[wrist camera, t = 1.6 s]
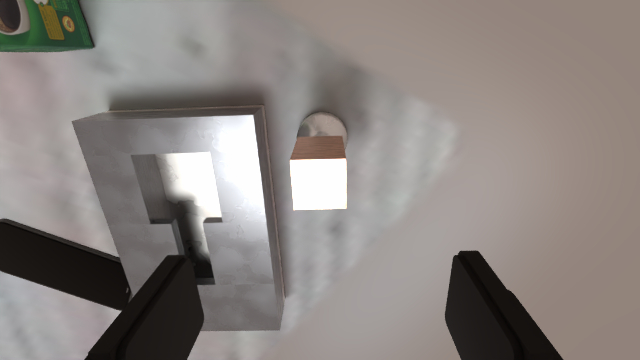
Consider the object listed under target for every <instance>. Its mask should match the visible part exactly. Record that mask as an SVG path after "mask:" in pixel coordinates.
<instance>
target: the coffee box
mask: <svg viewBox="0 0 640 360" xmlns="http://www.w3.org/2000/svg"><path fill="white" fill-rule="evenodd" d="M92 48H93V45H92V42H91V40H90V36H89V33H88V29H87V25H86V22H85V20H84V18H83V16H82V12H81V10H80V7H79V4H78V0H0V52H62V51H75V50H87V49H92Z"/></svg>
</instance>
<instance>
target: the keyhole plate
mask: <svg viewBox="0 0 640 360" xmlns="http://www.w3.org/2000/svg"><path fill="white" fill-rule="evenodd" d="M72 124H73V127H74V130H75V133H76V135H77V138H78V141H79V144H80V147H81V150H82V152H83V155H84V158H85V161H86V164H87V167H88V169H89V172H90V175H91V178H92V181H93V184H94V186H95V189H96V192H97V195H98V198H99V201H100V203H101V206H102V209H103V212H104V215H105V218H106V220H107V223H108V226H109V229H110V232H111V235H112V237H113V240H114V243H115V246H116V249H117V252H118V254H119V257H120V260H121V263H122V266H123V268H124V271H125V274H126V277H127V280H128V283H129V285H130V288H131V291H132V294H133V297H134V295H135V294H136V293H137V292H138V290H139V289H140V288H141V287H142V286H143V284H144V283H145V282H146V281H147V279H148V278H149V277H150V276H151V274H152V273H153V272H154V271H155V269H156V268H157V267H158V266H159V264H160V263H161V262H162V261H163V260H164V258H165V257H166V256H167V255H185V256H186V257H187V259H190V260H191V262H192V265H193V270H194V274H195V278H196V282H197V287H198V291H199V295H200V299H201V304H202V308H203V312H204V323H203V326H202V328H201V331H257V330H280V326H281V320H282V314H283V308H284V302H285V292H284V283H283V274H282V265H281V256H280V246H279V237H278V228H277V219H276V210H275V200H274V191H273V182H272V173H271V164H270V154H269V145H268V136H267V127H266V118H265V108H264V105H248V106H221V107H194V108H167V109H140V110H114V111H106V112H102V113H99V114H96V115H92V116H89V117H85V118H82V119H79V120H75V121H72Z"/></svg>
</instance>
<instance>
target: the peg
mask: <svg viewBox="0 0 640 360" xmlns="http://www.w3.org/2000/svg"><path fill="white" fill-rule="evenodd" d="M346 147H347V133H346V129H345V126H344V124H343V123H342V121H341V120H340V119H339V118H338V117H337V116H335V115H333V114H331V113H327V112H317V113H314V114H311V115H310V116H308V117H307V118H306V119H305V120H304V121H303V122H302V124H301V125H300V128H299V131H298V134H297V141H296V144H295V147H294V150H293V153H292V155H291V158H290V168H291V180H292V192H293V204H294V210H304V209H346V155H345V149H346Z"/></svg>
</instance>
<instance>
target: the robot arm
mask: <svg viewBox="0 0 640 360" xmlns="http://www.w3.org/2000/svg"><path fill="white" fill-rule="evenodd" d="M445 320H446V324H447V327H448V329H449V332H450V334H451V336H452V339H453V341H454V343H455V346H456V348H457V351H458V353H459V355H460V358H461V360H563V359H562V357H561V356H560V355H559V353H558V352H557V351H556V349H555V348H554V347H553V345H552V344H551V343H550V341H549V340H548V339H547V337H546V336H545V335H544V333H543V332H542V331H541V329H540V328H539V327H538V326H537V324H536V323H535V321H534V320H533V319H532V318H531V316H530V315H529V313H528V312H527V311H526V309H525V308H524V307H523V306H522V304H521V303H520V302H519V300H518V299H517V298H516V296H515V295H514V294H513V293H512V292H511V291H509V290H507V289H506V287H505V286H504V285H503V283H502V282H501V281H500V279H499V278H498V277H497V275H496V274H495V273H494V271H493V270H492V269H491V267H490V266H489V265H488V263H487V262H486V261H485V259H484V258H483V256H482V255H481V254H480V253H479V252H478V251H460V252H459V253H458V255H455V256H454V257H453V262H452V269H451V276H450V284H449V290H448V297H447V304H446V311H445ZM203 323H204V312H203V308H202V304H201V299H200V295H199V291H198V287H197V282H196V278H195V274H194V270H193V265H192V262H191V260H190V259H187V257H186V256H185V255H167V256H166V257H165V258H164V260H163V261H162V262H161V263H160V264H159V266H158V267H157V268H156V269H155V271H154V272H153V273H152V274H151V276H150V277H149V278H148V279H147V281H146V282H145V283H144V284H143V286H142V287H141V288H140V289H139V290H138V292H137V293H136V294H135V295H134V297H133V298H132V299H131V300H130V302H129V303H128V304H127V305H126V307H125V308H124V309H123V310H122V312H121V313H120V314H119V315H118V316H117V318H116V319H115V320H114V321H113V323H112V324H111V325H110V326H109V328H108V329H107V330H106V331H105V333H104V334H103V335H102V336H101V338H100V339H99V340H98V341H97V342H96V344H95V345H94V346H93V347H92V349H91V350H90V351H89V352H88V356H87V357H86V358H85V359H84V360H187V358H188V356H189V354H190V352H191V350H192V348H193V345H194V343H195V341H196V339H197V337H198V335H199V333H200V331H201V328H202V326H203Z"/></svg>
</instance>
